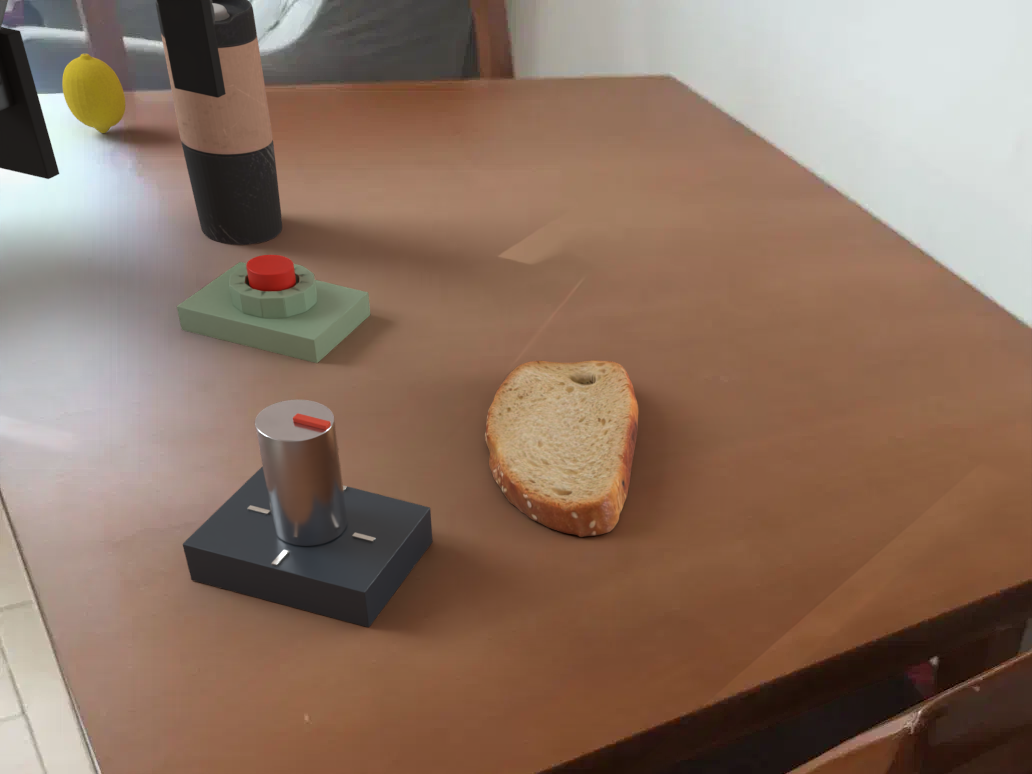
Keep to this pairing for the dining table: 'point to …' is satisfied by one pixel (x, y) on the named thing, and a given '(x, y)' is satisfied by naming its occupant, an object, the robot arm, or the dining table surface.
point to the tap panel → (312, 554)
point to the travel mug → (231, 137)
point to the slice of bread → (565, 443)
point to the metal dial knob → (302, 471)
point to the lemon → (93, 93)
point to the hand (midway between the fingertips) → (122, 128)
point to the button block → (276, 314)
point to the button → (271, 273)
